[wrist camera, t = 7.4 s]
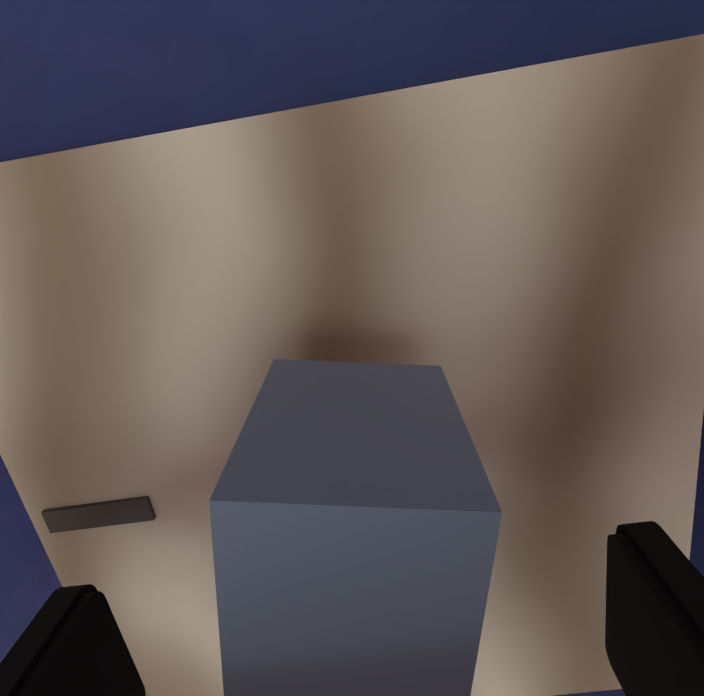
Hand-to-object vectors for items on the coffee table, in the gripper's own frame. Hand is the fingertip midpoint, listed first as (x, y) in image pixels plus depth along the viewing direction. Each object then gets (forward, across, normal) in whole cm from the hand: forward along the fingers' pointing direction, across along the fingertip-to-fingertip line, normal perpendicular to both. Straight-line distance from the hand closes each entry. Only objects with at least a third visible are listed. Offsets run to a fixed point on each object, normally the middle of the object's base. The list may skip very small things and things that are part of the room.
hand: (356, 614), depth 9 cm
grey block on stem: (+4, 0, 0) cm, 4 cm away
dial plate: (+6, 0, 0) cm, 6 cm away
